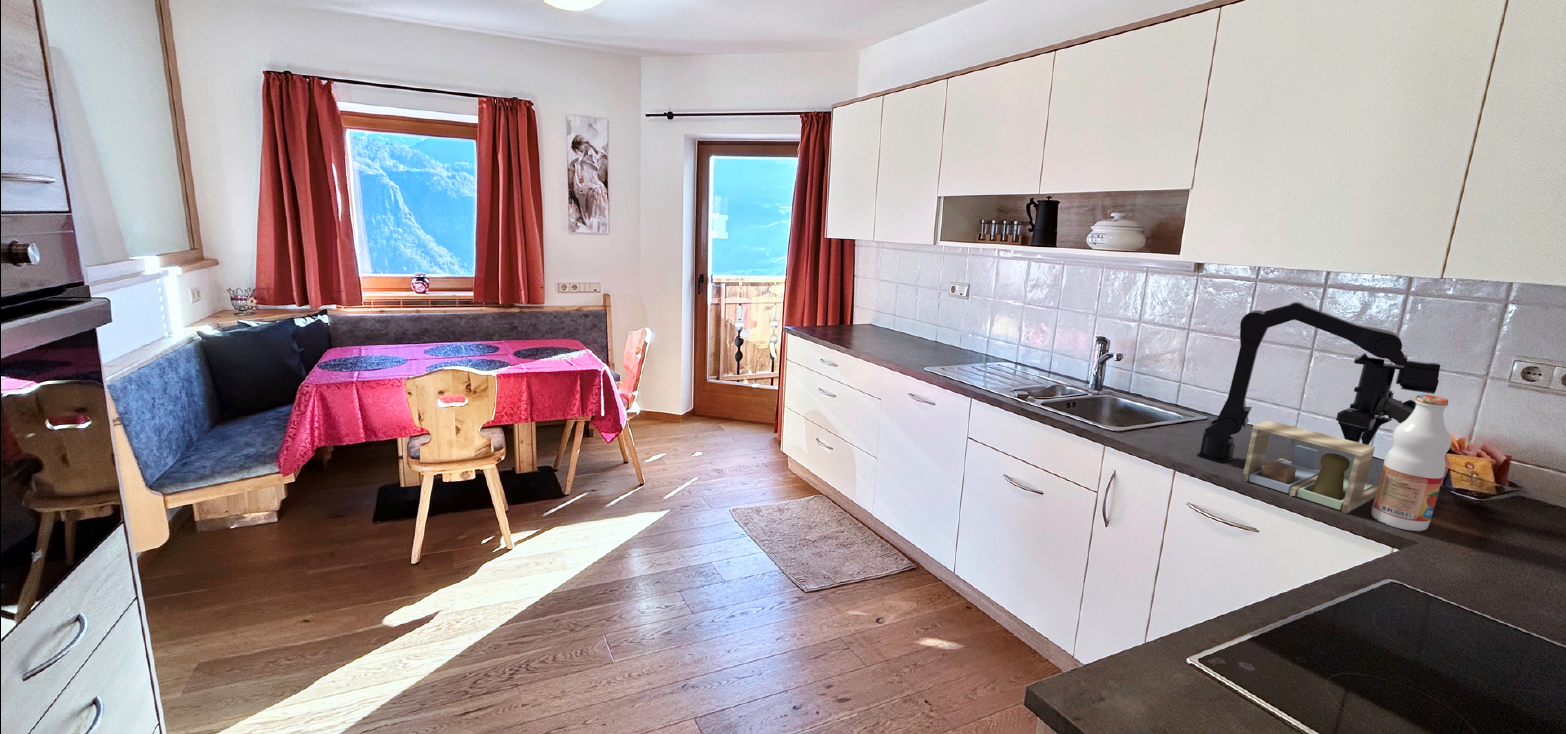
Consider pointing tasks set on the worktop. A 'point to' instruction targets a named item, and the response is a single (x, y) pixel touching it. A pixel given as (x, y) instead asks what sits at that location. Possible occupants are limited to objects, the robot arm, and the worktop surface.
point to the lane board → (1361, 451)
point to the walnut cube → (1279, 472)
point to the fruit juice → (1414, 467)
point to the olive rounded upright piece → (1331, 476)
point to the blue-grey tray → (1305, 470)
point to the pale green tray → (1321, 499)
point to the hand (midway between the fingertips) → (1358, 448)
